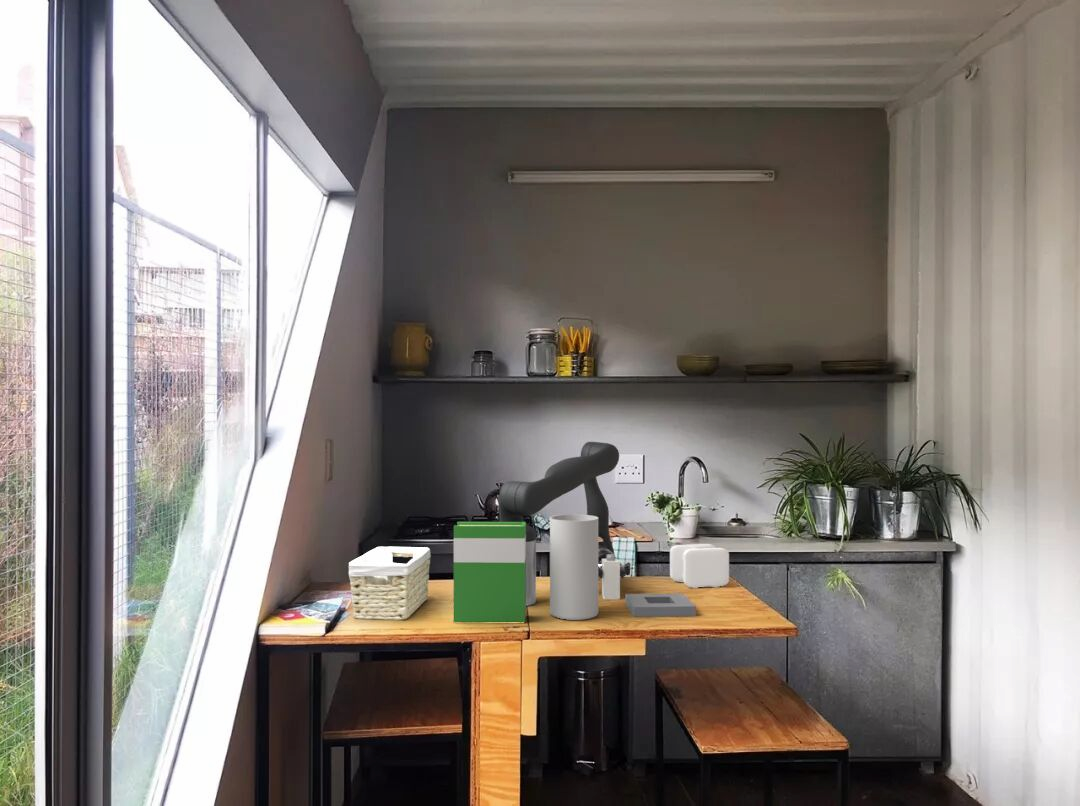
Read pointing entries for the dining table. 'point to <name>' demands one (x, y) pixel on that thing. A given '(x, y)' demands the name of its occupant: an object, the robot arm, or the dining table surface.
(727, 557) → the white napkin holder
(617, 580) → the white block with knob
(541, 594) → the dining table surface
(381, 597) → the storage basket
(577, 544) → the cylinder vase
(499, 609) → the green cereal box
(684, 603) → the socket plate
